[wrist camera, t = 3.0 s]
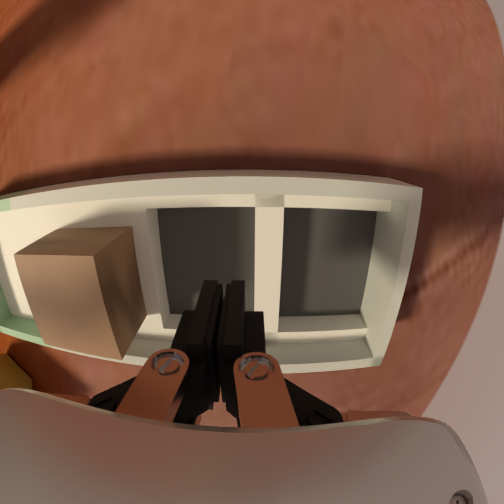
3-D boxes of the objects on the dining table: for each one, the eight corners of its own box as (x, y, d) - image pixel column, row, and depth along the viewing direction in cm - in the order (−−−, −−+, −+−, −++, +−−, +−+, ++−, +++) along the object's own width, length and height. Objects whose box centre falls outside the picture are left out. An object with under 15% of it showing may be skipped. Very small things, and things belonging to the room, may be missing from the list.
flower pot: (-2, 335, 22) (-39, 376, 13) (45, 382, 24) (14, 431, 16) (-5, 361, 24) (-34, 397, 16) (36, 400, 26) (11, 441, 18)
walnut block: (147, 315, 17) (122, 360, 13) (76, 307, 17) (44, 343, 13) (132, 226, 15) (92, 255, 11) (56, 229, 15) (13, 254, 11)
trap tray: (363, 331, 20) (380, 365, 16) (20, 310, 20) (-1, 331, 16) (389, 177, 16) (422, 188, 12) (-8, 197, 16) (-38, 209, 12)
